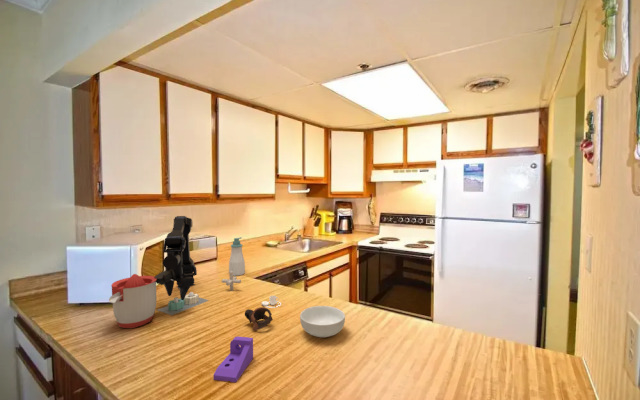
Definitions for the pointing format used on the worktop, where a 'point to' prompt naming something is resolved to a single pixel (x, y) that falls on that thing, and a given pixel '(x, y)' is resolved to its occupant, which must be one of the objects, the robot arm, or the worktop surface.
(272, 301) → the teacup and saucer
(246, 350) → the bracket
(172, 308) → the teal gear
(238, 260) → the soap bottle
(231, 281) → the pipe connector
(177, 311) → the gear board
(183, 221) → the robot arm
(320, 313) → the cereal bowl
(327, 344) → the worktop surface
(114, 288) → the citrus juicer
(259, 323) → the pottery mug
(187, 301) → the cream gear
